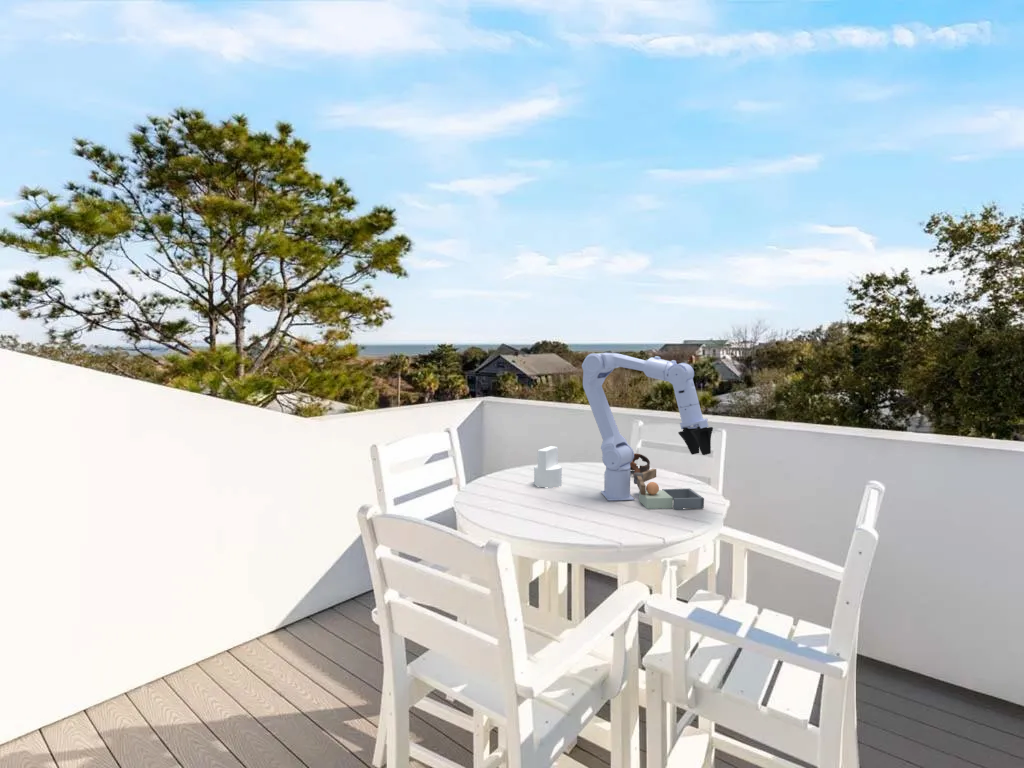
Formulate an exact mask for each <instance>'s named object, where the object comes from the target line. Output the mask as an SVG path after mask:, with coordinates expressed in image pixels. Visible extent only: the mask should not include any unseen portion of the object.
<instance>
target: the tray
mask: <svg viewBox="0 0 1024 768" xmlns="http://www.w3.org/2000/svg"><path fill="white" fill-rule="evenodd" d="M661 490H664V491H665V492H666V493H667V494H669V495H670V496H671V497H672V498H673V508H674V509H676V510H684V509H683V508H704V509H705V498H704V496H703V497H702V495H700V494H698V493H697V492H696V491H694V490H692V489H691V487H690V488H662V489H661ZM673 508H672V509H673ZM674 509H673V510H674Z"/></svg>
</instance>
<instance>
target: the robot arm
mask: <svg viewBox="0 0 1024 768" xmlns="http://www.w3.org/2000/svg"><path fill="white" fill-rule="evenodd" d="M617 368H618V369H619V368H624V369H629V370H636V371H641V372H643V373H644V375H645V376H646V377H647V378H650V379H651V378H652V379H656V380H660V381H664V382H669V384H671V385H672V387H673V390H674V391H673V392H674V396H675V397H674V398H675V400H676V404H677V407H678V408H677V409H678V413H679V416H680V420H681V422H679V426H680V430H681V431H678V433H677V434H678V435H679V436H680V437H681V438H682V440H683V441H684V442H685V444H686V446H687V448H688V450H689V452H690V455H697V454H700V453H701V456H706V455H710V454H711V453H712V450H711V449H712V446H711V445H712V443H711V442H712V441H711V439H712V433H713V430H714V428H713V426H709V422H708V418H707V417H705V418H704V417H703V413H702V410H701V406H700V401H699V397H698V394H697V393H698V392H697V390H696V386H695V383H694V377H695V371H694V367H692V366H691V364H688V363H687V362H681V363H677V360H674V359H672V360H666V359H662V358H661V356H657V355H655V356H654V357H649V358H648V359H646V360H645V359H641V358H637V357H634V356H630V355H626V354H621V353H616V352H615V353H614V352H606V351H605V352H601V353H597V352H596V353H593V352H592V353H589V354H588V355H586V356H585V358H584V360H583V362H582V364H581V369H582V371H583V372H582V373H583V374H582V388H583V391H584V393H585V396H586V398H587V400H588V403H589V406H590V408H591V411H592V414H593V417H594V419H595V421H596V425H597V428H598V430H599V433H600V436H601V438H602V443H601V446H600V449H601V452H602V456H601V458H602V463H603V464H604V466H605V471H604V474H603V475H604V477H603V478H604V479H603V481H604V482H603V483H604V485H603V486H604V487H603V490H601V491H600V493H601V494H602V495H603V497H605V499H606V500H607V501H609V502H610V501H634V500H635V498H634V497H633V496H632V494H631V470H630V463H631V462H632V461H633V459H634V454H635V452H634V449H633V448H632V446H631V445H629V443H628V441H627V439H626V438H625V437H624V436H623V435H622V434H621V432H620V431H619V428H618V425H617V423H616V420H615V417H614V415H613V411H612V410H611V407H610V405H609V402H608V399H607V396H606V394H605V391H604V389H603V384H604V383H605V380H606V378H607V377H608V376H610V374H611V373H613V371H614V370H615V369H617Z"/></svg>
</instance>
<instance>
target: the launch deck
mask: <svg viewBox="0 0 1024 768" xmlns="http://www.w3.org/2000/svg"><path fill="white" fill-rule="evenodd" d="M638 495H639V496H638V501H639V502H640V503H641V504H642V505H643V506H644V507H645V509H647V510H655V509H657V510H658V508H662V509H673V498H672V497H671V496H670V495H669V494H667V493H666V492H665V491H664V490H662V489H661V490H660V489H659V491H658V493H656V494H654V495H652V494H649V493H648V492H647V490H646V495H641V493H640V490H638Z"/></svg>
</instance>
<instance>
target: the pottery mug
mask: <svg viewBox="0 0 1024 768" xmlns="http://www.w3.org/2000/svg"><path fill="white" fill-rule="evenodd" d="M639 459H640V460H642V462H644V463H646V464H645V465H639V466H638V465H637V463H636V461H637V460H639ZM650 465H651V462H650V460H649V458H648V457H647V456H646V455H643V454H641V453H635V452H634V459H633V461H632V462H631V463H630V471H633V470H635V471H633V474H632V476H633V477H634V473H642V472H645V471H648V470H651V468H650V467H651V466H650Z"/></svg>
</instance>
